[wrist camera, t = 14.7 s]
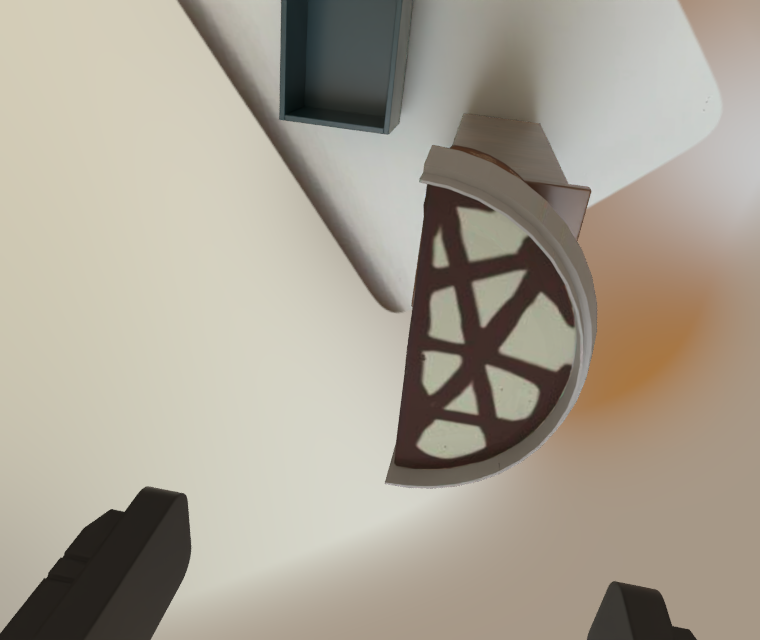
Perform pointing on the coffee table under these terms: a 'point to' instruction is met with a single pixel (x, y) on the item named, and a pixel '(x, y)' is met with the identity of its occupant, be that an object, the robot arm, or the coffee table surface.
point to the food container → (489, 325)
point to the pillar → (512, 145)
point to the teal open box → (344, 62)
